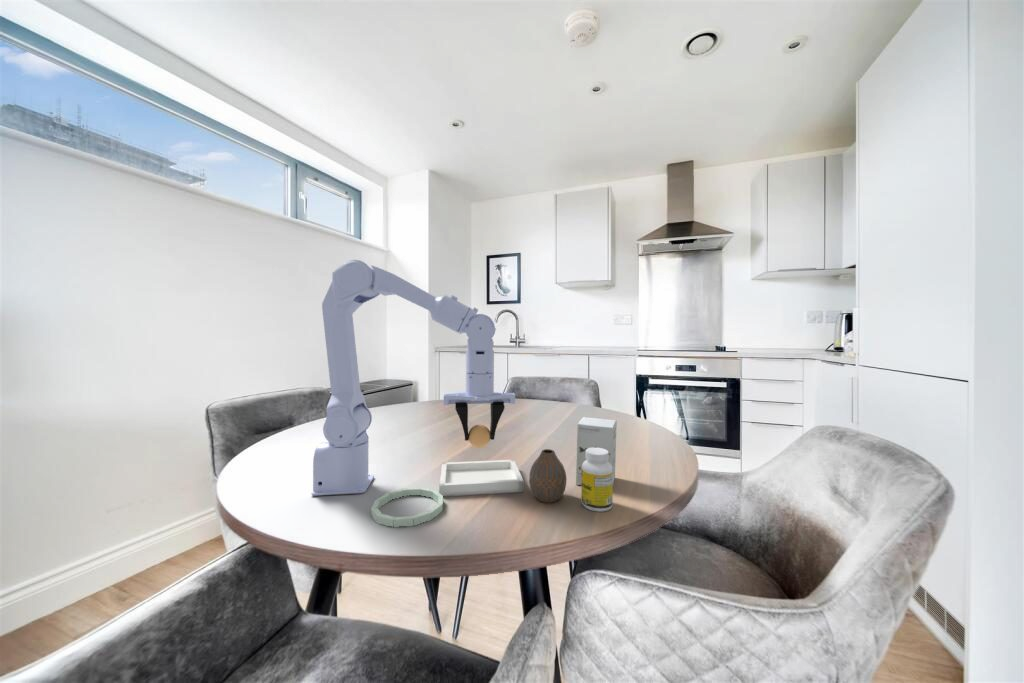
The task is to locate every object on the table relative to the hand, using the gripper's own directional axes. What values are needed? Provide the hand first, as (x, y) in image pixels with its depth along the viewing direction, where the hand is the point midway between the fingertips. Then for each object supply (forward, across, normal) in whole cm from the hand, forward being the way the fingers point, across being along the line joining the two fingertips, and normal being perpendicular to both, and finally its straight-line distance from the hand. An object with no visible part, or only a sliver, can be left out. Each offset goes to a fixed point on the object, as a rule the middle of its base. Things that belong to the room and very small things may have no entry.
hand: (479, 438), depth 72 cm
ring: (+9, -13, -10) cm, 18 cm away
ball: (-1, 0, 0) cm, 1 cm away
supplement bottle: (+9, +20, -13) cm, 26 cm away
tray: (+9, 0, 0) cm, 9 cm away
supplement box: (+9, +24, -3) cm, 26 cm away
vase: (+9, +12, -9) cm, 18 cm away
